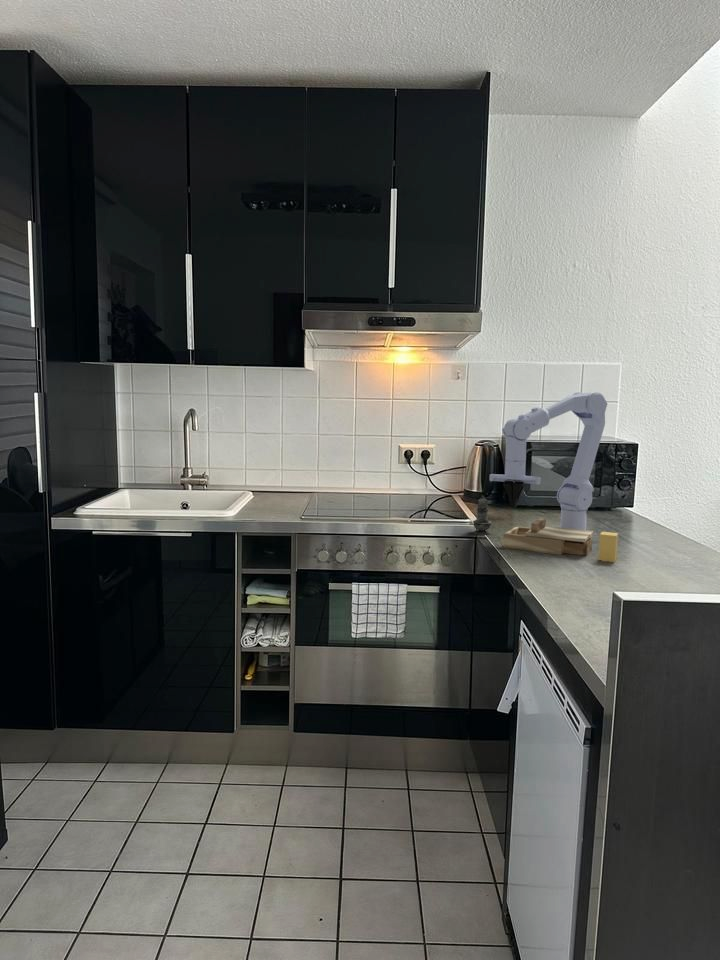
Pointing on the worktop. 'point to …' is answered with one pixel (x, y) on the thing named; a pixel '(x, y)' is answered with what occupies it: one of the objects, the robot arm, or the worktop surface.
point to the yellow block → (608, 546)
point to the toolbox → (543, 543)
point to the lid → (557, 532)
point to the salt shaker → (482, 518)
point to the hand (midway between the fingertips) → (513, 507)
